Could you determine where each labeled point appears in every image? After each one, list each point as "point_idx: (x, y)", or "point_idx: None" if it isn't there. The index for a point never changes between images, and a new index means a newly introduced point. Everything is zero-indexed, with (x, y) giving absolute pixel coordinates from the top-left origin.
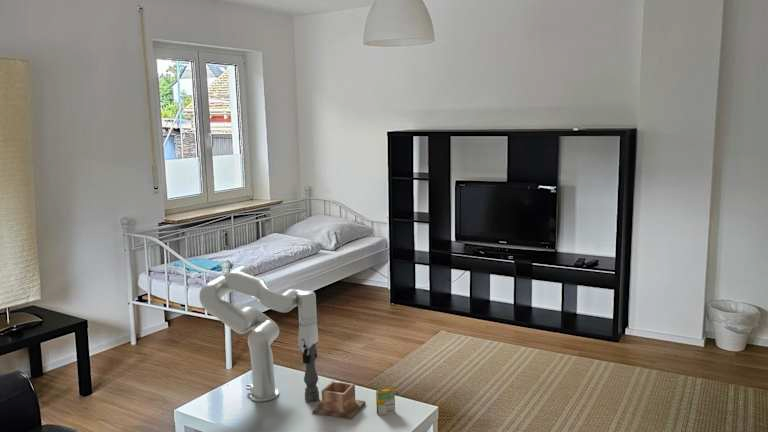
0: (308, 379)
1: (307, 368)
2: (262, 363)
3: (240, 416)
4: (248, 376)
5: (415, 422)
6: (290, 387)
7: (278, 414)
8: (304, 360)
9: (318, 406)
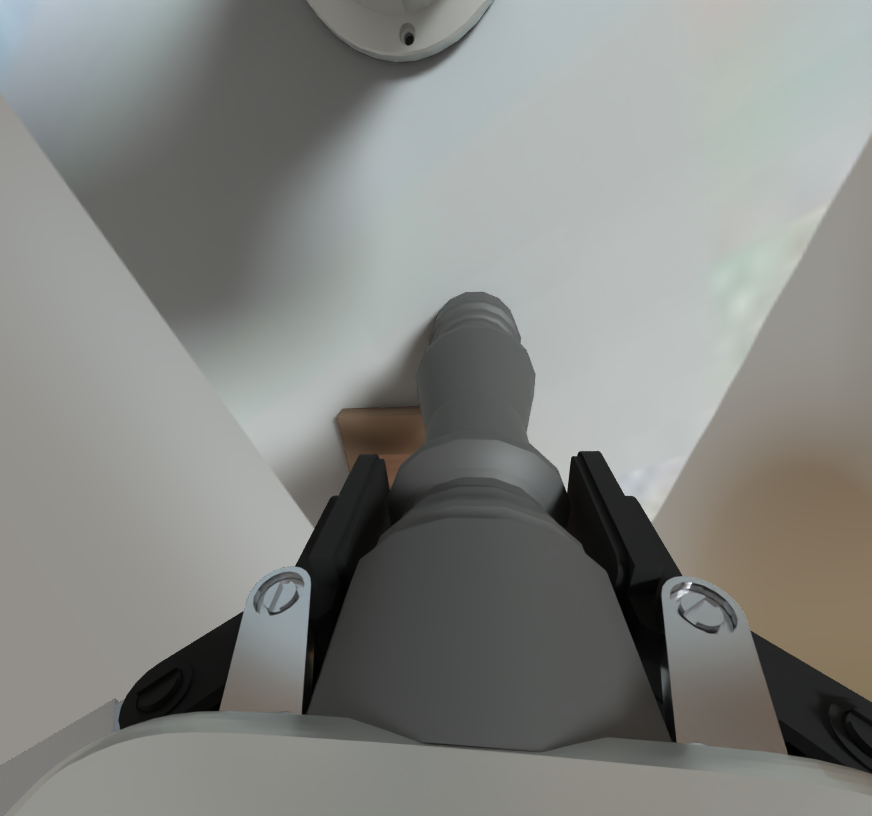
0: (418, 399)
1: (427, 430)
2: None
3: None
4: None
5: None
6: (614, 51)
7: (240, 248)
8: (328, 515)
9: (381, 427)
